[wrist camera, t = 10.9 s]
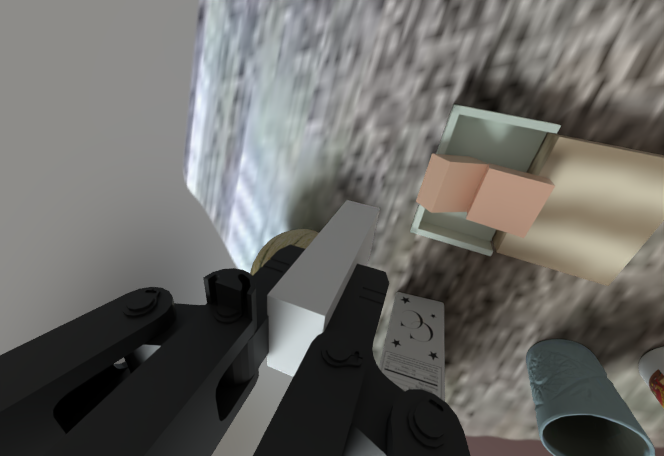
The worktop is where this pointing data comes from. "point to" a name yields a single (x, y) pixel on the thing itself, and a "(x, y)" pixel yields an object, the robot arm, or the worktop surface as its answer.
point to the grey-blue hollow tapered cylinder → (580, 404)
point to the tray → (488, 146)
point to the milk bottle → (654, 372)
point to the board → (590, 208)
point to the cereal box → (415, 345)
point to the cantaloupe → (283, 245)
